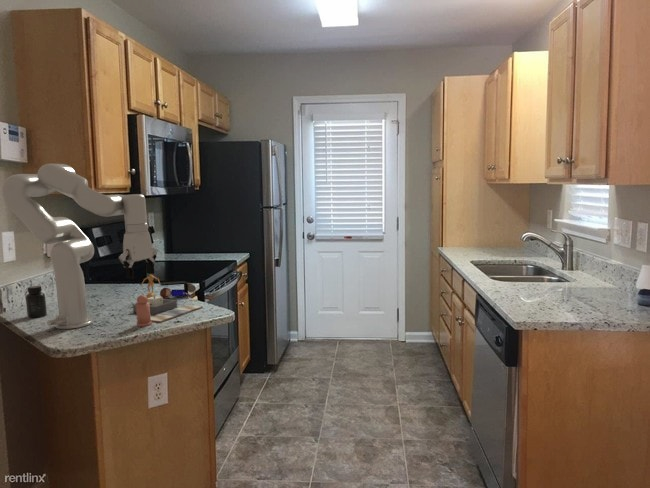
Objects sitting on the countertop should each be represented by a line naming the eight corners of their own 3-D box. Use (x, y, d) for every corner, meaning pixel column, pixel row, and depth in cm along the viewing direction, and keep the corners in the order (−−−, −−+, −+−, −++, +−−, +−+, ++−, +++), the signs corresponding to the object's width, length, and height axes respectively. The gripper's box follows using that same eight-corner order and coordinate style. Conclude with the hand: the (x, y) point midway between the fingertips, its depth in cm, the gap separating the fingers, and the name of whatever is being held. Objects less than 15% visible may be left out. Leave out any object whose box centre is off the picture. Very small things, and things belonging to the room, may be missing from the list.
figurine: (140, 303, 226) (137, 276, 225) (144, 300, 232) (142, 273, 231) (159, 302, 226) (157, 275, 225) (163, 299, 232) (161, 272, 231)
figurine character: (192, 296, 243) (158, 297, 236) (193, 280, 243) (159, 280, 236) (195, 299, 237) (160, 300, 230) (196, 282, 237) (161, 283, 230)
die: (155, 310, 210) (154, 298, 210) (146, 309, 212) (145, 298, 212) (164, 307, 215) (163, 296, 214) (155, 306, 217) (154, 295, 216)
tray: (155, 314, 206) (155, 307, 205) (133, 312, 211) (133, 304, 211) (177, 307, 216) (176, 300, 216) (155, 305, 222) (154, 298, 221)
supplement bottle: (30, 314, 213) (27, 286, 211) (48, 313, 214) (46, 284, 213) (25, 319, 206) (22, 289, 205) (44, 317, 208) (41, 287, 206)
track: (160, 322, 193) (160, 321, 193) (144, 320, 196) (144, 319, 196) (202, 307, 214) (202, 306, 214) (187, 306, 218) (187, 304, 218)
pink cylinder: (144, 327, 188) (141, 297, 186) (133, 326, 190) (131, 296, 189) (154, 323, 192) (152, 294, 191) (144, 322, 195) (142, 293, 193)
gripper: (146, 226, 196) (150, 271, 198) (109, 231, 181) (114, 280, 183) (162, 226, 193) (165, 272, 195) (125, 231, 178) (129, 281, 180)
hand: (140, 276), depth 189 cm, fingers open, 9 cm apart
